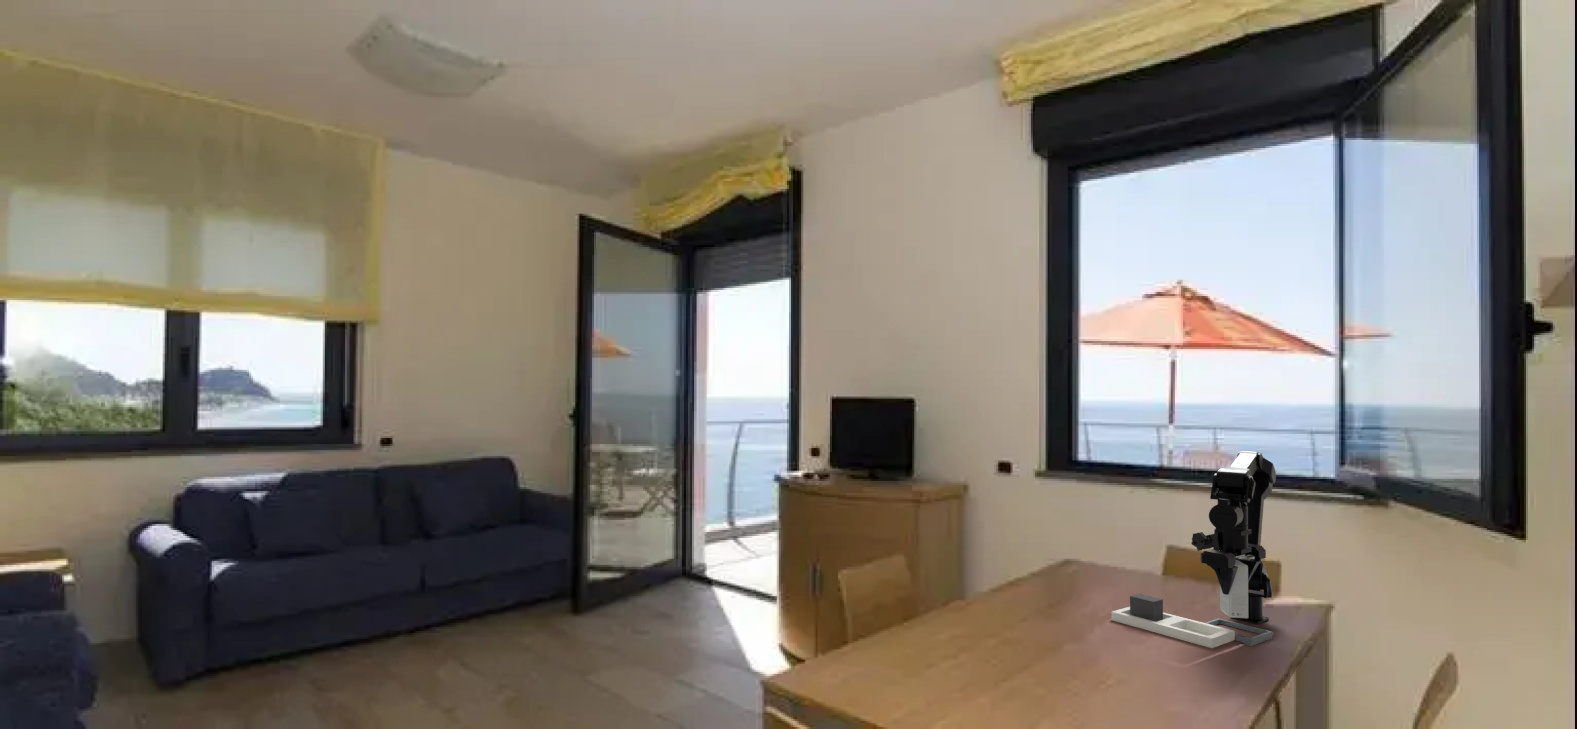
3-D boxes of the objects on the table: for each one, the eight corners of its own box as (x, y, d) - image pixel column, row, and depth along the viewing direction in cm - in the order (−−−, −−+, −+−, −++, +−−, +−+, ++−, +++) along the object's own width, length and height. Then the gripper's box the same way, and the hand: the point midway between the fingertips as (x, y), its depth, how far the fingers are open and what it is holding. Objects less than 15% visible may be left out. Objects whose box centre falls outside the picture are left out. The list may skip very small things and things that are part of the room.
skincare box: (1249, 618, 177) (1248, 565, 177) (1228, 617, 177) (1228, 564, 178) (1239, 611, 183) (1238, 559, 183) (1219, 610, 183) (1219, 558, 184)
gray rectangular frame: (1218, 624, 188) (1218, 618, 188) (1272, 638, 178) (1272, 631, 178) (1196, 631, 182) (1196, 625, 182) (1251, 646, 172) (1251, 639, 172)
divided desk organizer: (1134, 615, 195) (1134, 605, 195) (1234, 641, 175) (1234, 630, 175) (1111, 621, 189) (1111, 611, 189) (1211, 650, 169) (1211, 638, 169)
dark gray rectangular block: (1139, 618, 191) (1139, 593, 191) (1163, 624, 186) (1162, 599, 186) (1130, 620, 188) (1129, 595, 188) (1153, 627, 183) (1153, 601, 184)
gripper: (1218, 515, 192) (1218, 579, 192) (1177, 522, 182) (1177, 589, 181) (1266, 522, 183) (1267, 589, 183) (1227, 530, 173) (1227, 601, 172)
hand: (1233, 591), depth 180 cm, fingers closed on skincare box, 7 cm apart
